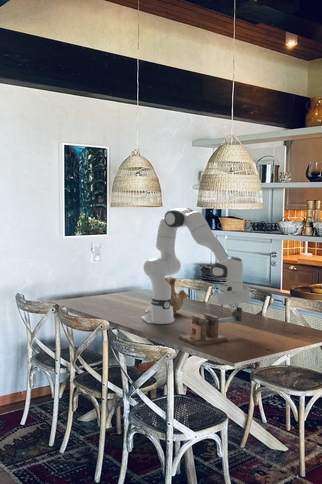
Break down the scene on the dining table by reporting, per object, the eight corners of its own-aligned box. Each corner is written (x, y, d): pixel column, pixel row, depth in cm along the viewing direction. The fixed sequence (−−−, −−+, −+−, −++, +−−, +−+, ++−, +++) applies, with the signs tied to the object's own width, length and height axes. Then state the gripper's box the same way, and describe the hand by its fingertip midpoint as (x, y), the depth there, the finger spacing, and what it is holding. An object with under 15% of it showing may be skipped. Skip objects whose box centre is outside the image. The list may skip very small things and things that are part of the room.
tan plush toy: (189, 314, 337) (190, 276, 335) (168, 318, 325) (168, 278, 323) (170, 310, 351) (171, 273, 349) (149, 313, 338) (149, 275, 336)
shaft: (198, 323, 278) (198, 310, 277) (234, 319, 290) (234, 305, 290) (204, 326, 272) (205, 312, 272) (241, 321, 285) (241, 307, 285)
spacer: (189, 336, 276) (190, 323, 276) (193, 336, 277) (193, 323, 277) (197, 339, 270) (197, 326, 270) (200, 339, 271) (200, 326, 271)
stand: (179, 338, 278) (179, 315, 277) (209, 334, 288) (210, 311, 287) (196, 345, 264) (197, 321, 263) (227, 340, 275) (228, 317, 274)
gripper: (245, 284, 293) (244, 308, 294) (215, 287, 282) (215, 312, 283) (252, 286, 287) (252, 310, 288) (223, 288, 277) (222, 314, 278)
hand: (233, 311), depth 286 cm, fingers closed
